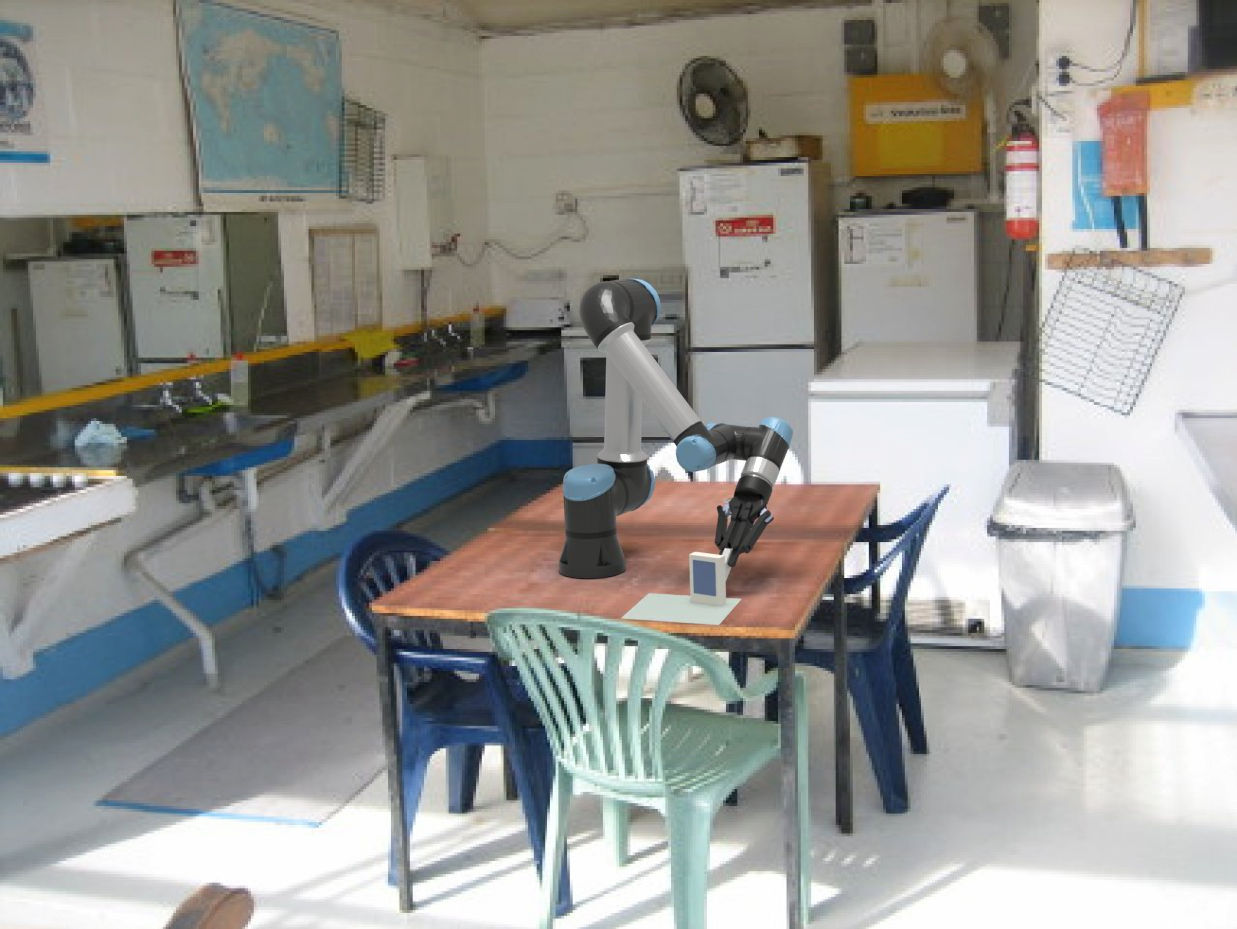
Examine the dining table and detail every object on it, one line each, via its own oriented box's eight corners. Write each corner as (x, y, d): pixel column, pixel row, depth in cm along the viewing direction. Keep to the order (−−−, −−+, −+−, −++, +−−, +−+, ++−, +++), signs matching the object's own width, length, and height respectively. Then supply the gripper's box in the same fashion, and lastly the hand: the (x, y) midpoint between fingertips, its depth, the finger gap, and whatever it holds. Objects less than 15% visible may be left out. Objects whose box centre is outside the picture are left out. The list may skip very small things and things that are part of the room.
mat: (620, 621, 262) (620, 618, 262) (649, 595, 279) (648, 593, 279) (718, 628, 256) (718, 625, 256) (741, 601, 272) (741, 598, 272)
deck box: (719, 606, 268) (718, 558, 266) (690, 602, 272) (688, 554, 270) (726, 603, 270) (724, 555, 268) (696, 598, 274) (695, 551, 272)
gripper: (789, 495, 282) (754, 591, 272) (735, 490, 289) (699, 584, 279) (777, 476, 277) (741, 573, 266) (723, 471, 284) (685, 566, 273)
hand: (719, 578), depth 273 cm, fingers closed
